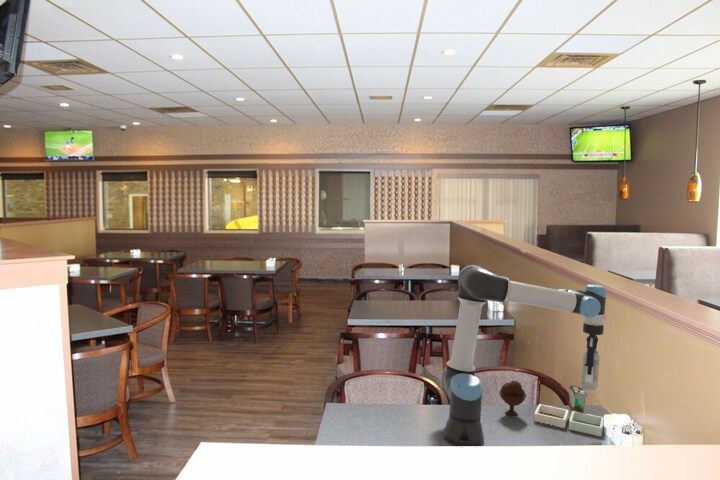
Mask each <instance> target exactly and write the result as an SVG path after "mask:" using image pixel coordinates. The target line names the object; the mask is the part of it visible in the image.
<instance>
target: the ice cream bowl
mask: <svg viewBox="0 0 720 480" xmlns="http://www.w3.org/2000/svg"><path fill="white" fill-rule="evenodd" d="M499 396H500V398H501V400H503V401H504V403H505V404H506V405H508V406H509V409H508V410H506V411H505V412H504V414H505V416H508V417H511V416H517V417H518V416H519V414H518V412H517V411H515V407H516V406H519V405H521V404H522V403H523V402H524V401H525V399H526V397H527V394H526V391H525V390H524V388H523V386H522V384H521V382H519V381H517V380H511V381H510V382H505V383H504V384H502V386H501V388H500V390H499Z"/></svg>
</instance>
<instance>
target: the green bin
mask: <svg viewBox="0 0 720 480" xmlns="http://www.w3.org/2000/svg"><path fill="white" fill-rule="evenodd" d="M603 420H604V416H599V415H594V414H589V413H585V412H584V413H580V412H576V411H572V412H571V414H570V417H569V419H568V421H569V422H568V430H569V431H575V432H579V433H583V434H588V435H592V436H597V437H602V434H603V431H604V429H603V428H604V421H605V420H604V421H603Z"/></svg>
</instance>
